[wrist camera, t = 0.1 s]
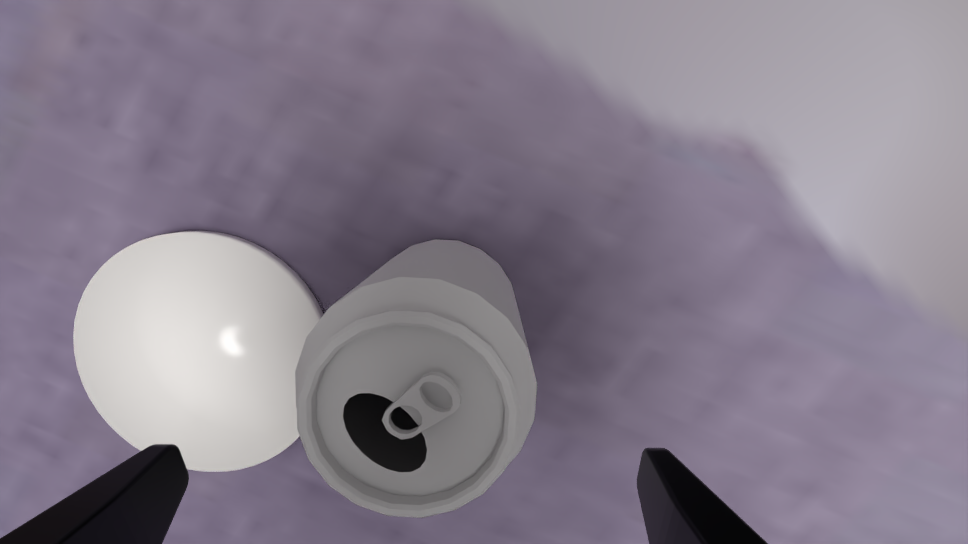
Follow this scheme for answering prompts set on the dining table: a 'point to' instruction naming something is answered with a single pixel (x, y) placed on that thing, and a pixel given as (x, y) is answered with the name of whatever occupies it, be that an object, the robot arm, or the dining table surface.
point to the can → (418, 383)
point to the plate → (196, 347)
